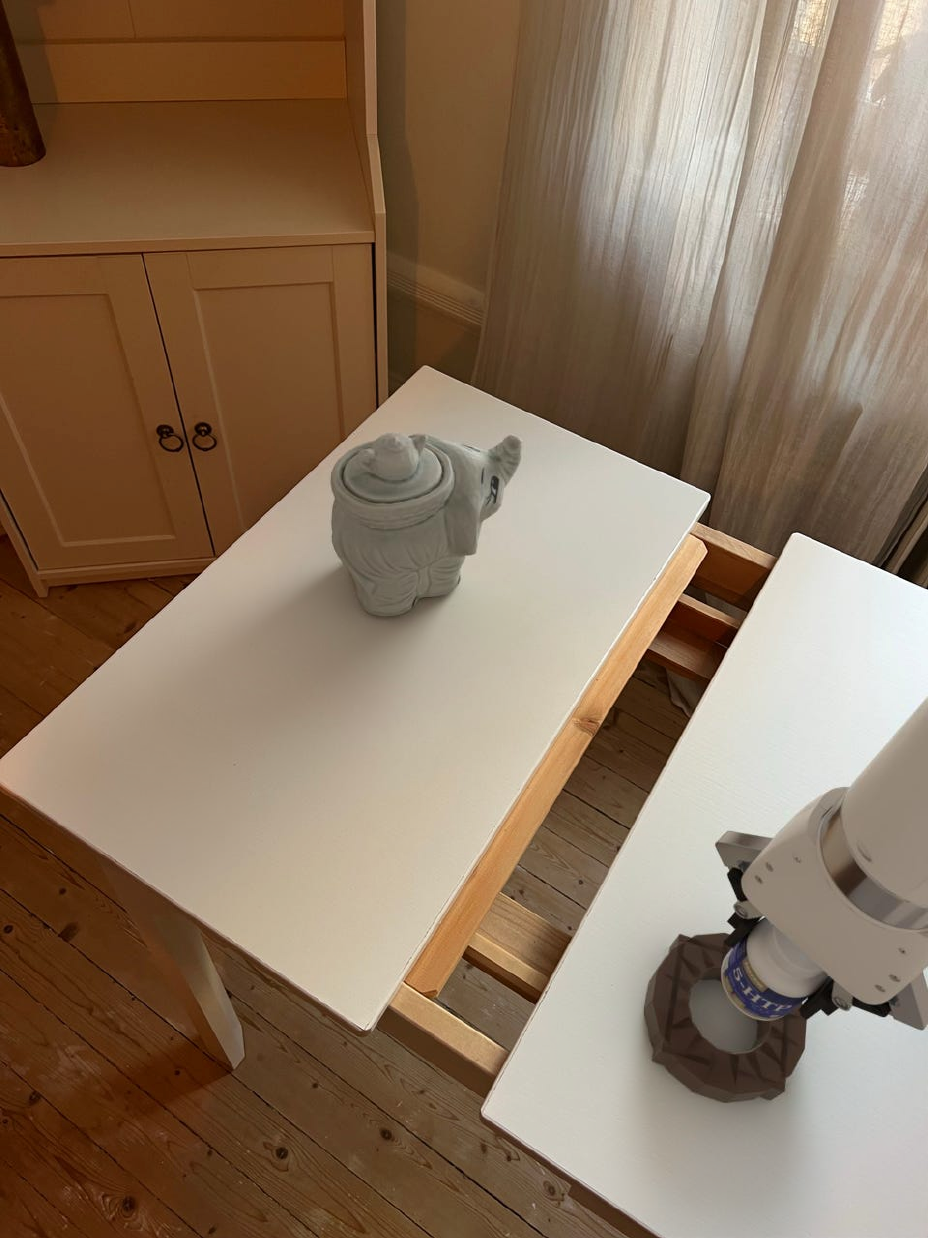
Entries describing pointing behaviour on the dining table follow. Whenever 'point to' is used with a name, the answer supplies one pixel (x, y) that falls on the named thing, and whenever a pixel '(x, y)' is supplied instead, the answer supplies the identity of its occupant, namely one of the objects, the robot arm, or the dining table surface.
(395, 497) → the teapot
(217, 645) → the dining table surface
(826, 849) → the robot arm
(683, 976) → the socket plate
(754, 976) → the pill bottle
